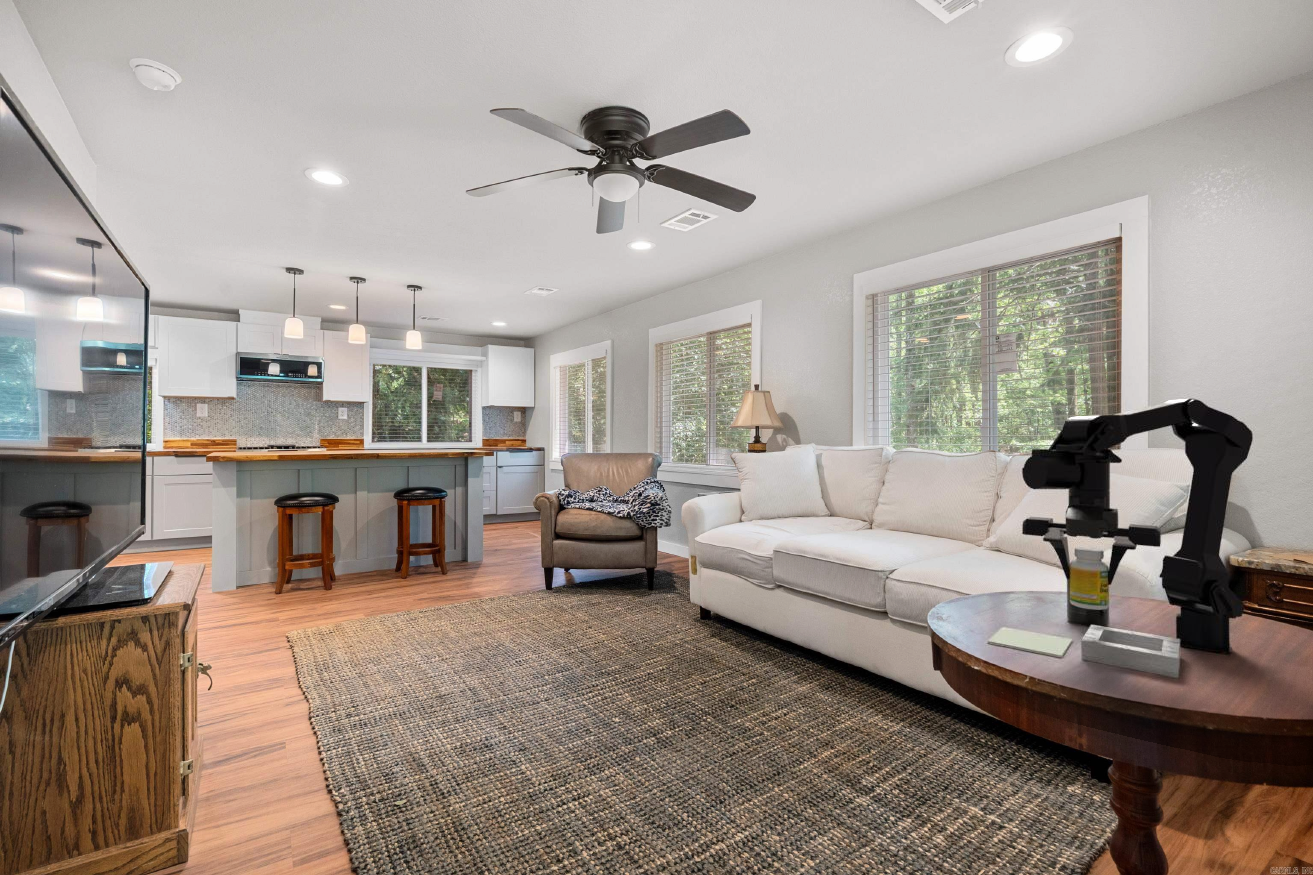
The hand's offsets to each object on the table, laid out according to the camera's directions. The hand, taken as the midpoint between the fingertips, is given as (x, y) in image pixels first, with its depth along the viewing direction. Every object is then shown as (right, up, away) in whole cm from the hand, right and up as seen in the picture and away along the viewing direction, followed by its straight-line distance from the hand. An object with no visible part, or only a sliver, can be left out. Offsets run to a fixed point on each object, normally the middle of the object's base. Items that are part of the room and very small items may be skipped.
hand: (1088, 581), depth 102 cm
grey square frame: (+5, -12, -3) cm, 13 cm away
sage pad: (-7, -12, +5) cm, 15 cm away
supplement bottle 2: (+12, -12, +16) cm, 24 cm away
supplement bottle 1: (0, -4, 0) cm, 4 cm away
